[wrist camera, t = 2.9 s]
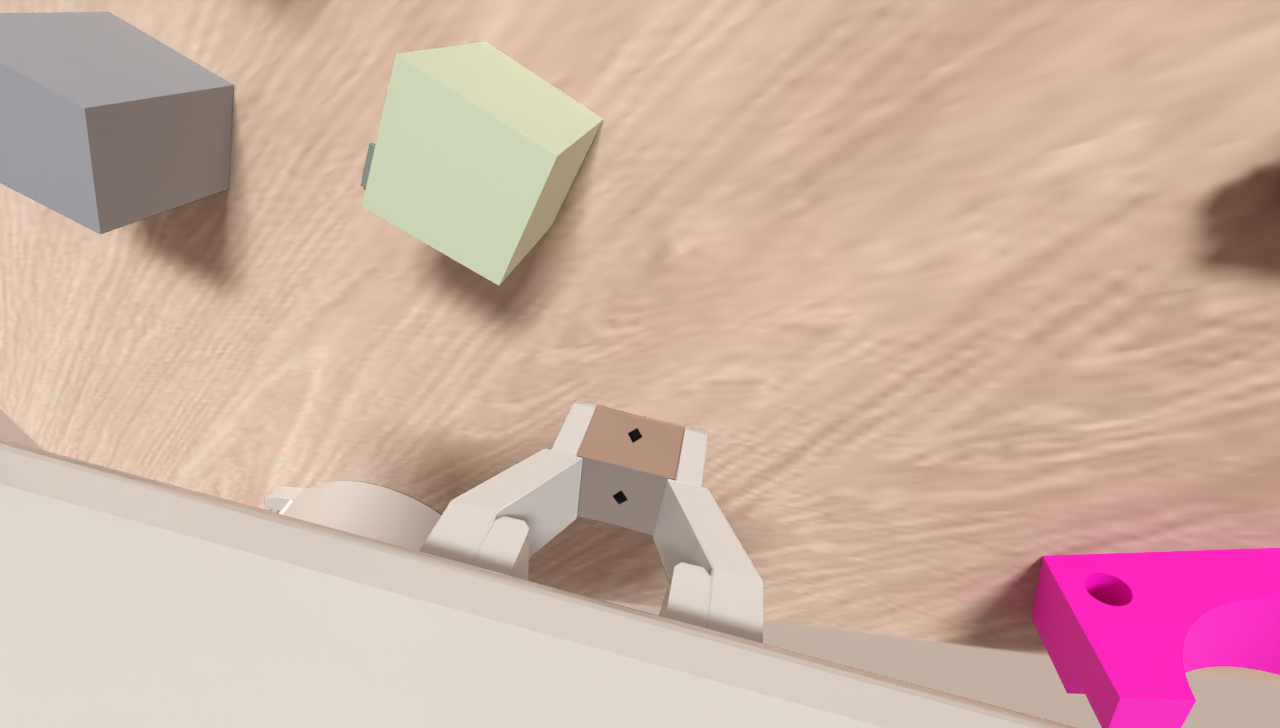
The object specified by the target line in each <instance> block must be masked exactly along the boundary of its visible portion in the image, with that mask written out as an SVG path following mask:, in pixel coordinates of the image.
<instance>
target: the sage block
mask: <svg viewBox="0 0 1280 728" xmlns="http://www.w3.org/2000/svg"><path fill="white" fill-rule="evenodd" d="M602 121H603V119H602V118H601V117H599V116H598V115H596V114H595V113H593V112H592V111H590V110H589V109H587V108H586V107H584V106H583V105H581V104H579V103H578V102H576V101H575V100H573V99H572V98H570V97H569V96H567V95H566V94H564V93H563V92H561V91H560V90H558V89H557V88H555V87H554V86H552V85H551V84H549V83H548V82H546V81H545V80H543V79H541V78H540V77H538V76H537V75H535V74H534V73H532V72H531V71H529V70H528V69H526V68H525V67H523V66H522V65H520V64H519V63H517V62H516V61H514V60H513V59H511V58H510V57H508V56H506V55H505V54H503V53H502V52H500V51H499V50H497V49H496V48H494V47H493V46H491V45H490V44H488V43H487V42H478V43H471V44H463V45H456V46H449V47H442V48H434V49H427V50H420V51H412V52H405V53H398V54H396V55H395V59H394V64H393V68H392V73H391V77H390V82H389V86H388V91H387V95H386V100H385V104H384V109H383V113H382V118H381V122H380V127H379V131H378V136H377V140H376V145H375V149H374V154H373V158H372V163H371V167H370V172H369V176H368V181H367V185H366V190H365V194H364V199H363V203H362V208H364V209H366V210H368V211H369V212H371V213H373V214H375V215H376V216H378V217H380V218H382V219H383V220H385V221H387V222H389V223H390V224H392V225H394V226H396V227H397V228H399V229H401V230H403V231H404V232H406V233H408V234H410V235H411V236H413V237H415V238H417V239H418V240H420V241H422V242H423V243H425V244H427V245H429V246H430V247H432V248H434V249H436V250H437V251H439V252H441V253H443V254H444V255H446V256H448V257H450V258H451V259H453V260H455V261H457V262H458V263H460V264H462V265H464V266H465V267H467V268H469V269H471V270H472V271H474V272H476V273H478V274H479V275H481V276H483V277H485V278H486V279H488V280H490V281H492V282H493V283H495V284H497V285H498V286H499V285H500V284H501V283H502V282H503V281H504V280H505V279H506V278H507V276H508V275H509V274H510V273H511V272H512V271H513V270H514V268H515V267H516V266H517V265H518V264H519V263H520V262H521V260H522V259H523V258H524V257H525V256H526V255H527V254H528V253H529V251H530V250H531V249H532V248H533V247H534V246H535V245H536V243H537V242H538V241H539V240H540V239H541V238H542V237H543V235H544V234H545V233H546V232H547V231H548V230H549V229H550V228H551V226H552V225H553V223H554V221H555V219H556V216H557V214H558V212H559V210H560V208H561V206H562V204H563V202H564V200H565V198H566V196H567V194H568V192H569V190H570V188H571V186H572V183H573V181H574V179H575V177H576V175H577V173H578V171H579V169H580V167H581V165H582V163H583V161H584V159H585V157H586V155H587V152H588V150H589V148H590V146H591V144H592V142H593V140H594V138H595V136H596V134H597V132H598V130H599V128H600V126H601V124H602Z"/></svg>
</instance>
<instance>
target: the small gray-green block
mask: <svg viewBox="0 0 1280 728" xmlns="http://www.w3.org/2000/svg"><path fill="white" fill-rule="evenodd" d="M374 149H375V144H373V143H371V144H369V149H368V154H367V158H366V163H365V168H364V173H363V177H362V182H361V186H363V187H364V188H366V185H367V181H368V176H369V172H370V167H371V163H372V158H373V154H374Z"/></svg>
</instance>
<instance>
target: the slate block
mask: <svg viewBox="0 0 1280 728" xmlns="http://www.w3.org/2000/svg"><path fill="white" fill-rule="evenodd" d="M233 92H234V85H233V84H231V83H230V82H228V81H226V80H224V79H223V78H221V77H219V76H218V75H216V74H214V73H212V72H211V71H209V70H207V69H206V68H204V67H202V66H200V65H199V64H197V63H195V62H194V61H192V60H190V59H189V58H187V57H185V56H183V55H182V54H180V53H178V52H177V51H175V50H173V49H171V48H170V47H168V46H166V45H165V44H163V43H161V42H160V41H158V40H156V39H154V38H153V37H151V36H149V35H148V34H146V33H144V32H142V31H141V30H139V29H137V28H136V27H134V26H132V25H130V24H129V23H127V22H125V21H124V20H122V19H120V18H119V17H117V16H115V15H113V14H112V13H110V12H82V13H0V183H1V184H3V185H5V186H7V187H9V188H11V189H13V190H15V191H17V192H19V193H21V194H23V195H25V196H27V197H29V198H31V199H33V200H34V201H36V202H38V203H40V204H42V205H44V206H46V207H48V208H50V209H52V210H54V211H56V212H58V213H60V214H62V215H64V216H66V217H68V218H70V219H71V220H73V221H75V222H77V223H79V224H81V225H83V226H85V227H87V228H89V229H91V230H93V231H95V232H97V233H99V234H103V233H106V232H108V231H111V230H114V229H117V228H120V227H123V226H125V225H128V224H131V223H134V222H137V221H139V220H142V219H145V218H148V217H151V216H154V215H156V214H159V213H162V212H165V211H168V210H170V209H173V208H176V207H179V206H182V205H184V204H187V203H190V202H193V201H196V200H199V199H201V198H204V197H207V196H210V195H213V194H215V193H218V192H221V191H224V190H227V189H229V181H230V158H231V136H232V114H233Z"/></svg>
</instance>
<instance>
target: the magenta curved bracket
mask: <svg viewBox="0 0 1280 728" xmlns="http://www.w3.org/2000/svg"><path fill="white" fill-rule="evenodd" d="M1032 620H1033V622H1034V624H1035V626H1036V628H1037V630H1038V632H1039V635H1040V637H1041V639H1042V641H1043V643H1044V645H1045V647H1046V649H1047V651H1048V654H1049V656H1050V658H1051V660H1052V662H1053V664H1054V666H1055V668H1056V671H1057V673H1058V675H1059V677H1060V679H1061V681H1062V683H1063V685H1064V688H1065V690H1066V692H1067V693H1077V694H1086V697H1087V698H1088V700H1089V703H1090V705H1091V707H1092V709H1093V711H1094V713H1095V715H1096V717H1097V719H1098V721H1099V723H1100V725H1101V727H1102V728H1181V727H1182V725H1183V723H1184V721H1185V720H1186V718H1187V716H1188V714H1189V712H1190V711H1191V709H1192V707H1193V705H1194V703H1195V701H1196V700H1195V698H1194V695H1193V693H1192V691H1191V689H1190V687H1189V684H1188V681H1187V678H1186V675H1185V672H1188V671H1191V670H1194V669H1199V668H1205V667H1215V666H1233V667H1243V668H1250V669H1256V670H1262V671H1266V672H1270V673H1274V674H1278V675H1280V548H1260V549H1231V550H1202V551H1172V552H1143V553H1113V554H1084V555H1054V556H1043V558H1042V563H1041V569H1040V575H1039V580H1038V586H1037V592H1036V597H1035V603H1034V609H1033V614H1032Z"/></svg>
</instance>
